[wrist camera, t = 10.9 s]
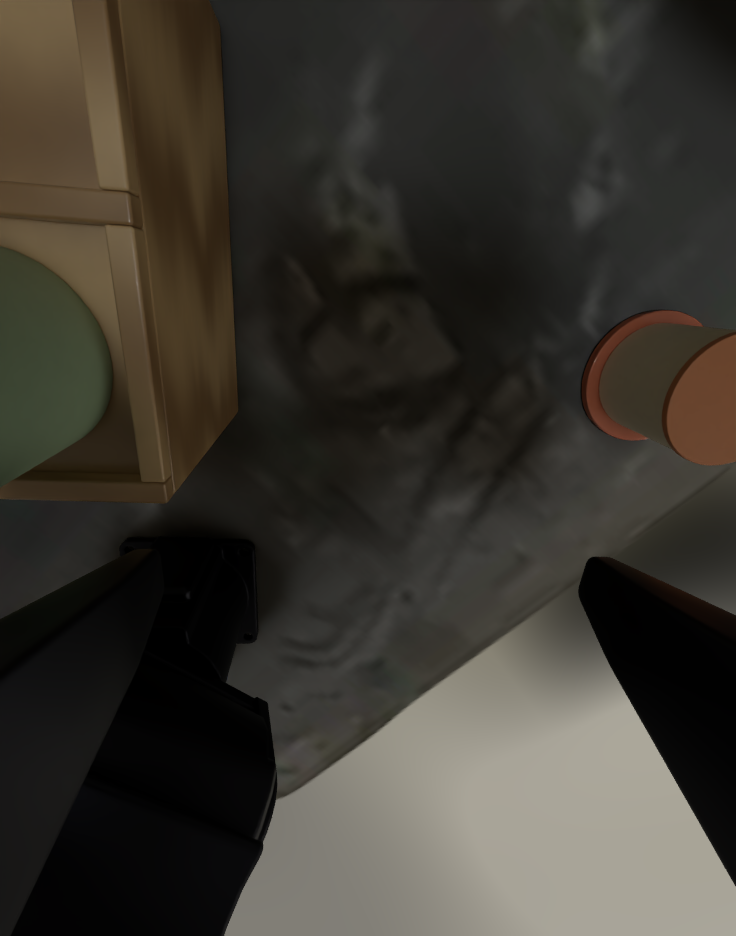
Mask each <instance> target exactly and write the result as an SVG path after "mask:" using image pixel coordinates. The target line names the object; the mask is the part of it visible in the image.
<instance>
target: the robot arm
mask: <svg viewBox="0 0 736 936" xmlns="http://www.w3.org/2000/svg"><path fill="white" fill-rule="evenodd" d="M128 546H131V547H133V548H134V549H135V550H131V549H130V548H129V547H128ZM242 548H245V549H247V550H248V552H243V551H241V549H242ZM119 551H120V557H119V558H117V559H115V560H113V561H112V562H110V563H108V564H106V565H104V566H102V567H100V568H98V569H96V570H94V571H92V572H90V573H88V574H87V575H85V576H83V577H81V578H79V579H77V580H75V581H73V582H71V583H69V584H67V585H65V586H63V587H61V588H60V589H58V590H56V591H54V592H52V593H50V594H48V595H46V596H44V597H42V598H40V599H38V600H36V601H35V602H33V603H31V604H29V605H27V606H25V607H23V608H21V609H19V610H17V611H15V612H13V613H11V614H10V615H8V616H6V617H4V618H2V619H0V936H224V934H225V931H226V928H227V926H228V923H229V921H230V918H231V916H232V913H233V911H234V909H235V906H236V904H237V901H238V899H239V897H240V894H241V892H242V890H243V888H244V886H245V884H246V882H247V880H248V878H249V876H250V874H251V872H252V871H253V869H254V867H255V865H256V863H257V862H258V860H259V858H260V856H261V854H262V851H263V840H264V838H265V836H266V833H267V830H268V827H269V824H270V821H271V818H272V814H273V810H274V806H275V801H276V793H277V772H276V764H275V757H274V749H273V741H272V733H271V725H270V717H269V710H268V703H267V702H266V701H264V700H262V699H260V698H258V697H256V698H253V697H251V696H249V695H247V694H245V693H243V692H241V691H240V690H238V689H236V688H234V687H232V686H230V685H228V684H227V683H226V680H227V676H228V673H229V669H230V665H231V662H232V658H233V654H234V651H235V647H236V644H248V643H253V642H255V640H256V639H257V635H258V611H257V584H256V557H255V546H254V544H253V543H252V542H251V541H249V540H233V539H211V538H208V537H163V536H160V537H158V538H127V539H126V540H125V541H124V542H123V543H122V544H121V546H120V548H119ZM578 593H579V598H580V601H581V603H582V605H583V607H584V610H585V612H586V614H587V616H588V619H589V621H590V623H591V625H592V628H593V630H594V632H595V634H596V637H597V639H598V641H599V643H600V646H601V648H602V650H603V652H604V654H605V656H606V658H607V660H608V662H609V664H610V666H611V668H612V670H613V672H614V674H615V676H616V677H617V679H618V681H619V683H620V684H621V686H622V688H623V690H624V691H625V693H626V695H627V696H628V698H629V700H630V702H631V704H632V705H633V707H634V709H635V710H636V712H637V714H638V716H639V718H640V719H641V721H642V723H643V725H644V726H645V728H646V730H647V732H648V733H649V735H650V737H651V739H652V740H653V742H654V744H655V746H656V747H657V749H658V751H659V753H660V755H661V756H662V758H663V760H664V762H665V763H666V765H667V767H668V769H669V770H670V772H671V774H672V776H673V777H674V779H675V781H676V783H677V784H678V786H679V788H680V790H681V791H682V793H683V795H684V796H685V798H686V800H687V802H688V804H689V805H690V807H691V809H692V811H693V812H694V814H695V816H696V818H697V819H698V821H699V823H700V824H701V827H702V828H703V830H704V832H705V833H706V835H707V837H708V839H709V841H710V842H711V844H712V846H713V847H714V849H715V851H716V853H717V855H718V856H719V858H720V860H721V862H722V863H723V865H724V867H725V869H726V870H727V872H728V874H729V876H730V877H731V879H732V881H733V882H734V884H735V886H736V615H734V614H732V613H729V612H727V611H725V610H723V609H721V608H719V607H716V606H714V605H712V604H710V603H708V602H706V601H704V600H701V599H699V598H697V597H695V596H693V595H691V594H688V593H686V592H684V591H682V590H680V589H678V588H675V587H673V586H671V585H669V584H667V583H665V582H662V581H660V580H658V579H656V578H654V577H651V576H650V575H647V574H645V573H643V572H641V571H639V570H637V569H634V568H632V567H630V566H628V565H626V564H624V563H621V562H619V561H617V560H615V559H613V558H610V557H591V558H590V559H588V561H587V563H586V566H585V569H584V572H583V575H582V578H581V582H580V585H579V590H578ZM246 633H250V634H251V635H247V634H246Z"/></svg>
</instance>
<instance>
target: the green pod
mask: <svg viewBox="0 0 736 936" xmlns="http://www.w3.org/2000/svg"><path fill="white" fill-rule="evenodd" d="M112 382H113V371H112V361H111V357H110V352H109V348H108V345H107V343H106V340H105V337H104V335H103V332H102V330H101V328H100V326H99V324H98V322H97V321H96V319H95V317H94V316H93V314H92V313H91V311H90V310H89V308H88V307H87V306H86V304H85V303H84V302H83V301H82V299H81V298H80V297H79V296H78V295H77V294H76V293H75V292H74V291H73V290H72V289H71V287H70V286H69V285H68V284H67V283H65V282H64V281H63V280H62V279H61V278H59V277H58V276H57V275H56V274H55V273H53V272H52V271H50V270H49V269H47V268H46V267H45V266H43V265H42V264H40V263H39V262H37V261H35V260H33V259H31V258H29V257H27V256H25V255H23V254H21V253H18V252H16V251H13V250H11V249H8V248H5V247H1V246H0V487H2V486H3V485H5V484H7V483H9V482H10V481H12V480H14V479H15V478H17V477H19V476H20V475H22V474H24V473H25V472H27V471H29V470H30V469H32V468H34V467H35V466H37V465H39V464H40V463H42V462H44V461H45V460H47V459H49V458H50V457H52V456H54V455H55V454H57V453H59V452H60V451H62V450H64V449H65V448H67V447H69V446H70V445H72V444H74V443H75V442H77V441H78V440H80V439H82V438H83V437H85V436H86V435H87V434H88V433H89V432H90V431H92V430H93V429H94V427H95V426H96V425H97V424H98V422H99V421H100V420H101V418H102V416H103V415H104V413H105V411H106V409H107V406H108V403H109V401H110V396H111V391H112Z"/></svg>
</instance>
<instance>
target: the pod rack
mask: <svg viewBox="0 0 736 936" xmlns="http://www.w3.org/2000/svg"><path fill="white" fill-rule="evenodd" d="M0 246H1V247H5V248H8V249H11V250H13V251H16V252H18V253H21V254H23V255H25V256H27V257H29V258H31V259H33V260H35V261H37V262H39V263H40V264H42V265H43V266H45V267H46V268H47V269H49V270H50V271H52V272H53V273H55V274H56V275H57V276H58V277H59V278H61V279H62V280H63V281H64V282H65V283H67V284H68V285H69V286H70V287H71V289H72V290H73V291H74V292H75V293H76V294H77V295H78V296H79V297H80V298H81V299H82V301H83V302H84V303H85V304H86V306H87V307H88V308H89V310H90V311H91V313H92V314H93V316H94V317H95V319H96V321H97V322H98V324H99V326H100V328H101V330H102V332H103V335H104V337H105V340H106V343H107V345H108V348H109V352H110V357H111V361H112V371H113V382H112V391H111V396H110V401H109V403H108V406H107V409H106V411H105V413H104V415H103V416H102V418H101V420H100V421H99V422H98V424H97V425H96V426H95V427H94V429H93V430H92V431H90V432H89V433H88V434H87V435H86V436H85V437H83V438H82V439H80V440H78V441H77V442H75V443H74V444H72V445H70V446H69V447H67V448H65V449H64V450H62V451H60V452H59V453H57V454H55V455H54V456H52V457H50V458H49V459H47V460H45V461H44V462H42V463H40V464H39V465H37V466H35V467H34V468H32V469H30V470H29V471H27V472H25V473H24V474H22V475H20V476H19V477H17V478H15V479H14V480H12V481H10V482H9V483H7V484H5V485H3V486H2V487H0V499H21V500H59V501H96V502H133V503H167V502H168V501H169V500H170V499H171V497H172V496H173V494H174V493H175V492H176V491H177V490H178V489H179V487H180V486H181V485H182V483H183V482H184V481H185V480H186V478H187V477H188V476H189V474H190V473H191V472H192V471H193V469H194V468H195V467H196V465H197V464H198V463H199V461H200V460H201V459H202V458H203V456H204V455H205V454H206V452H207V451H208V450H209V449H210V447H211V446H212V445H213V443H214V442H215V441H216V440H217V438H218V437H219V436H220V434H221V433H222V432H223V431H224V429H225V428H226V427H227V425H228V424H229V423H230V422H231V420H232V419H233V418H234V416H235V415H236V414H237V412H238V393H237V372H236V351H235V330H234V309H233V288H232V267H231V246H230V225H229V204H228V184H227V163H226V142H225V121H224V100H223V79H222V58H221V37H220V25H219V23H218V20H217V18H216V16H215V13H214V11H213V9H212V7H211V4H210V2H209V0H0Z"/></svg>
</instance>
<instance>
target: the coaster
mask: <svg viewBox="0 0 736 936" xmlns="http://www.w3.org/2000/svg"><path fill="white" fill-rule="evenodd" d="M658 323H672V324H682V325H691V326H700V327H704V326H703V325H702V324H701V323H700V322H699V321H697V320H696V319H695V318H694V317H692V316H690V315H688V314H685V313H682V312H679V311H672V310H653V311H647V312H643V313H640V314H637V315H635V316H632V317H630V318H628V319H627V320H625V321H623V322H621V323H620V324H619V325H617V326H616V327H614V328H613V329H612V330H611V331H610V332H609V333H608V334H607V335H606V336H605V337H604V338H603V339H602V340H601V341H600V343H599V344H598V345H597V347H596V348H595V349H594V351H593V353H592V355H591V356H590V358H589V360H588V363H587V365H586V368H585V371H584V374H583V379H582V389H581V392H582V401H583V406H584V409H585V411H586V414H587V415H588V417H589V419H590V420H591V421H592V423H593V424H594V425H595V426H596V427H597V428H599V429H600V430H601V431H603V432H605V433H606V434H608V435H610V436H613V437H615V438H618V439H622V440H643V439H648V438H647V437H645V436H643V435H641V434H639V433H637V432H635V431H633V430H631V429H628V428H626V427H624V426H622V425H620V424H618V423H616V422H615V421H613V420H612V419H611V418H610V417H609V416H608V415H607V413H606V412H605V410H604V408H603V406H602V403H601V400H600V395H599V385H600V378H601V374H602V371H603V368H604V366H605V364H606V362H607V360H608V358H609V356H610V355H611V353H612V352H613V351H614V349H615V348H616V347H617V346H618V345H619V344H620V343H621V342H622V341H623V340H624V339H625V338H627V337H628V336H629V335H631V334H632V333H634V332H636V331H637V330H639V329H641V328H644V327H646V326H649V325H653V324H658Z"/></svg>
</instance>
